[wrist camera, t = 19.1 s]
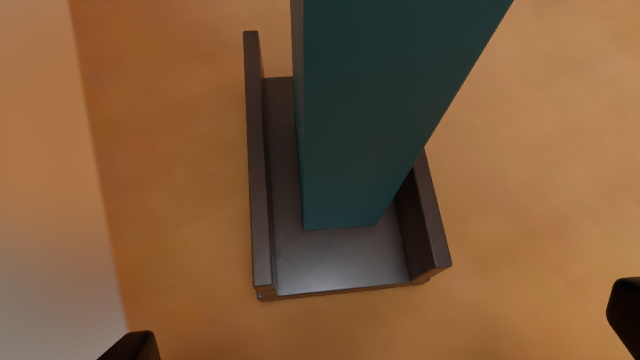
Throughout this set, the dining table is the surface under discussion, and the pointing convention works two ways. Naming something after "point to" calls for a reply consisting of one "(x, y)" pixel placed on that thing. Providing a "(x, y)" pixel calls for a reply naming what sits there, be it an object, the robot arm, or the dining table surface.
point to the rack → (335, 243)
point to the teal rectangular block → (375, 94)
